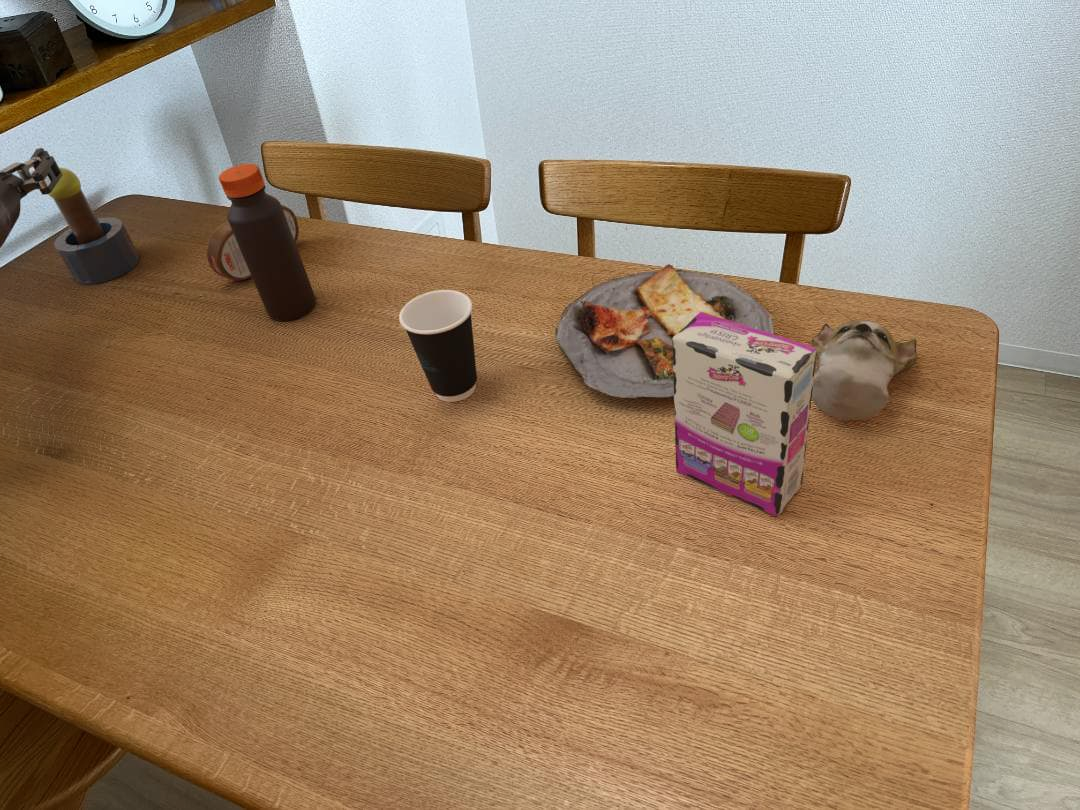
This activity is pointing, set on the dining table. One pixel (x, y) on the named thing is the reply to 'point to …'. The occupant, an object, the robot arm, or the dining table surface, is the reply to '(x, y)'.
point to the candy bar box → (742, 409)
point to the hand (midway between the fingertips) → (10, 162)
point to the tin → (236, 249)
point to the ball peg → (76, 208)
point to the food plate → (646, 327)
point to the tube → (99, 254)
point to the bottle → (267, 244)
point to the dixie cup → (443, 341)
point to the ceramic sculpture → (857, 368)
